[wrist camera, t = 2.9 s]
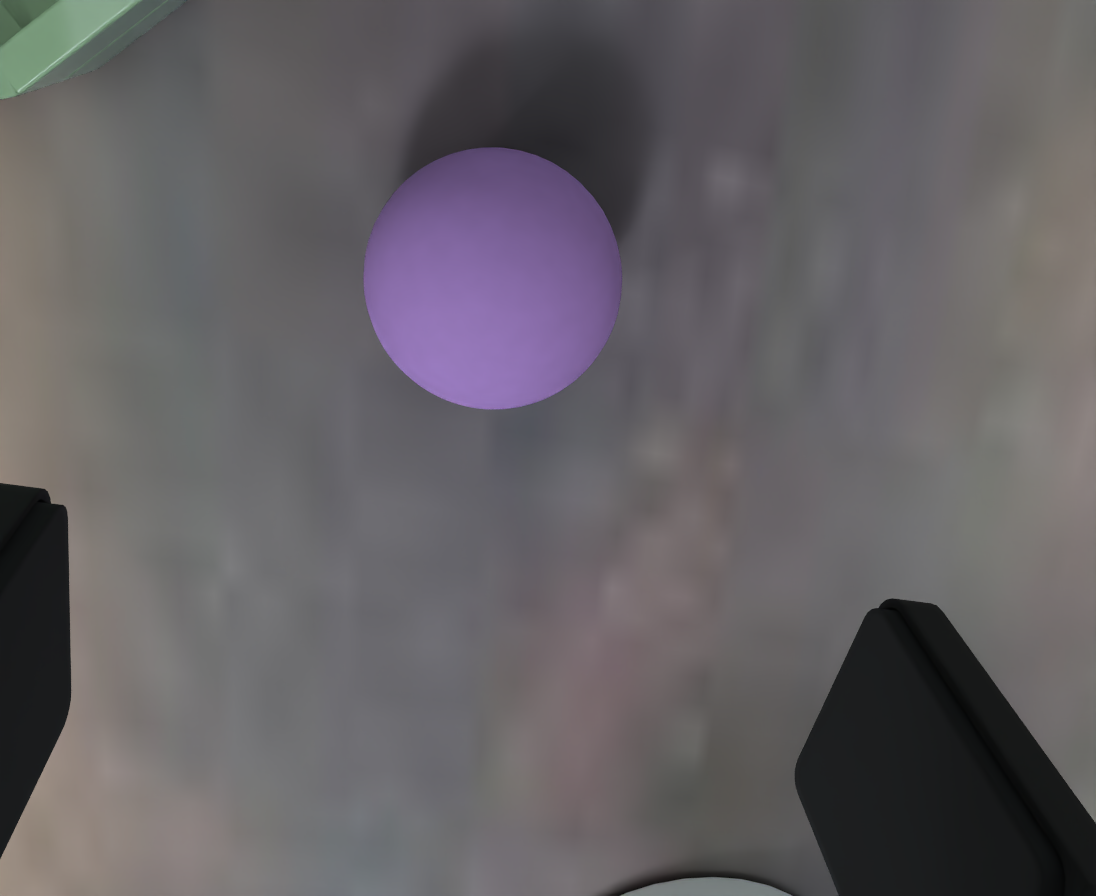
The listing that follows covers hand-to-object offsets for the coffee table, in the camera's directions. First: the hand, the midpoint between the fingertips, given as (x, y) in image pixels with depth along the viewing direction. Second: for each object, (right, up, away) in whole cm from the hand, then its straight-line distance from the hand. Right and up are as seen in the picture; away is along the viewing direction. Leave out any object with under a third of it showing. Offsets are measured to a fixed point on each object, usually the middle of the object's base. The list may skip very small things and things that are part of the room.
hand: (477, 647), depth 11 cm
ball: (-1, +8, +14) cm, 16 cm away
